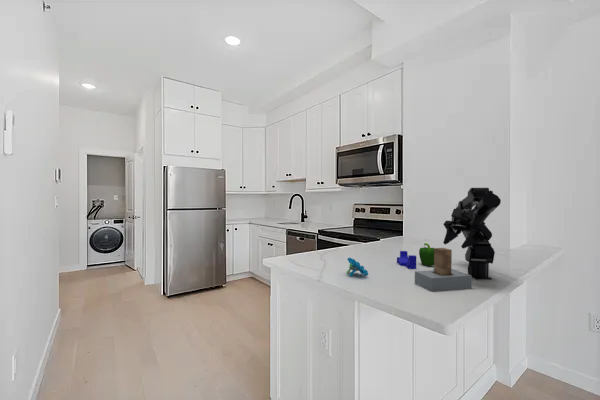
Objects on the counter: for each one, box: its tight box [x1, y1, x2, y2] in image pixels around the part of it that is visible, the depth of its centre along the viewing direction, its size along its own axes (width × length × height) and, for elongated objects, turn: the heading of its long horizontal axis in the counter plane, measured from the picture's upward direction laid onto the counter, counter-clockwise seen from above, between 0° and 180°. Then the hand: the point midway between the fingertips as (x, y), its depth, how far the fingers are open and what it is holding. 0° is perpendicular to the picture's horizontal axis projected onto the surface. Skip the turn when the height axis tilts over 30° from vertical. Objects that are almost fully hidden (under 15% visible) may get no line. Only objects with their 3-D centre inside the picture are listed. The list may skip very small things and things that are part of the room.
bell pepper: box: [418, 242, 435, 267], centre depth 139 cm, size 8×8×10 cm
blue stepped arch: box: [396, 250, 417, 270], centre depth 137 cm, size 12×4×6 cm, turn 1°
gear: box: [346, 257, 369, 277], centre depth 120 cm, size 11×6×10 cm
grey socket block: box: [414, 268, 473, 293], centre depth 107 cm, size 16×10×4 cm, turn 104°
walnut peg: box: [433, 247, 453, 276], centre depth 106 cm, size 4×4×12 cm
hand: (452, 245), depth 112 cm, fingers open, 9 cm apart
